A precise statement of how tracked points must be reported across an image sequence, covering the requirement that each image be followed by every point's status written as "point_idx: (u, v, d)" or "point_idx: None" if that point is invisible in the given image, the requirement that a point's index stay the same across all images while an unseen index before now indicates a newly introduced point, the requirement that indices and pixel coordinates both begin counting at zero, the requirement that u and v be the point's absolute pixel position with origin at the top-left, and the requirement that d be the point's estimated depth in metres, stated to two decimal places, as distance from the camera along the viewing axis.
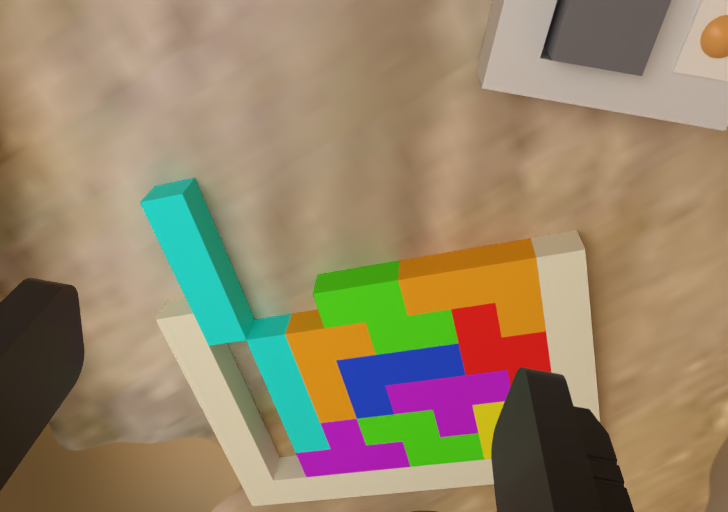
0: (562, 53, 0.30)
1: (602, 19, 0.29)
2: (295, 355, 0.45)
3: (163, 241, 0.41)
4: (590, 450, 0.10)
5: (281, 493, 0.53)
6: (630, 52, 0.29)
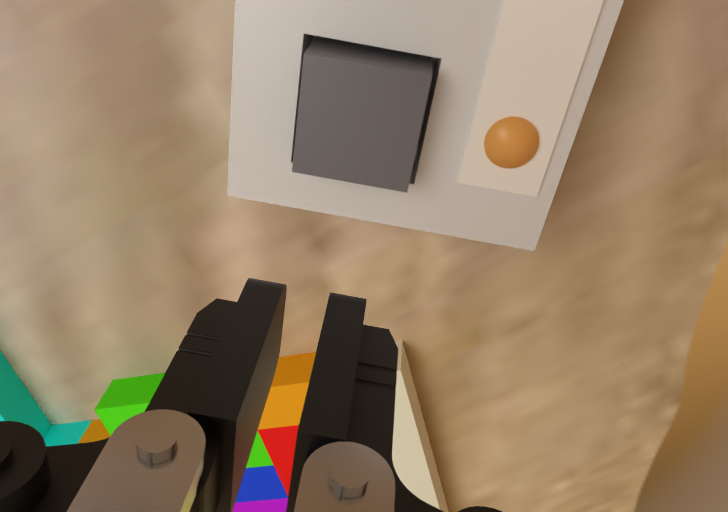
0: (302, 163, 0.23)
1: (343, 123, 0.22)
2: None
3: None
4: (374, 360, 0.10)
5: None
6: (386, 164, 0.23)
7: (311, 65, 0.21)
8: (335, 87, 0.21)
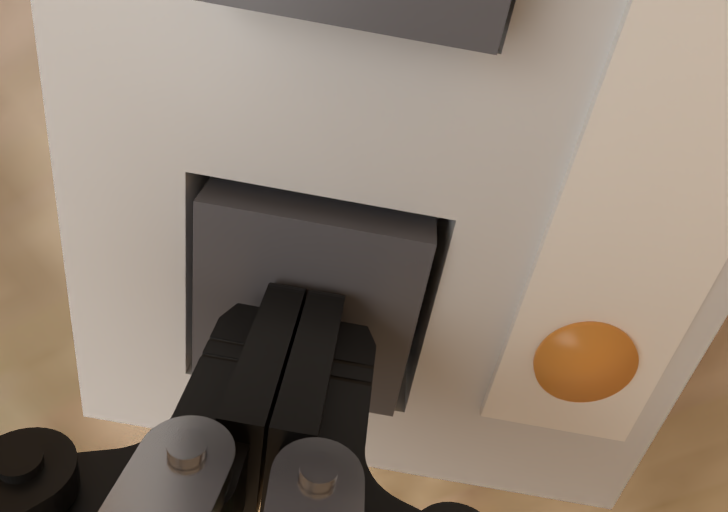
0: None
1: None
2: None
3: None
4: (352, 357, 0.10)
5: None
6: None
7: (209, 221, 0.11)
8: (257, 257, 0.11)
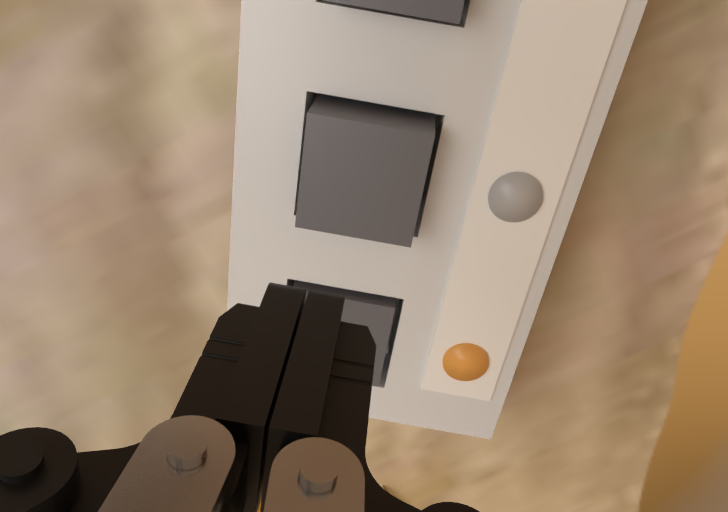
0: None
1: None
2: None
3: None
4: (351, 357, 0.10)
5: None
6: None
7: None
8: None
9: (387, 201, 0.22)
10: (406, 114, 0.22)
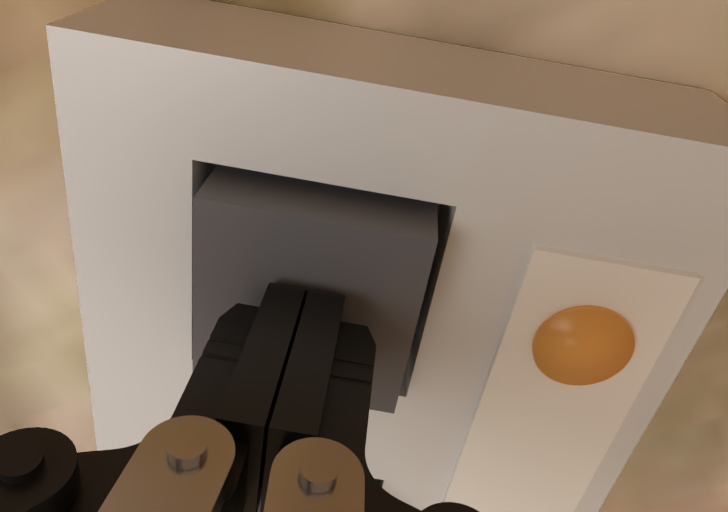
0: None
1: None
2: None
3: None
4: (352, 357, 0.10)
5: None
6: None
7: None
8: None
9: None
10: None
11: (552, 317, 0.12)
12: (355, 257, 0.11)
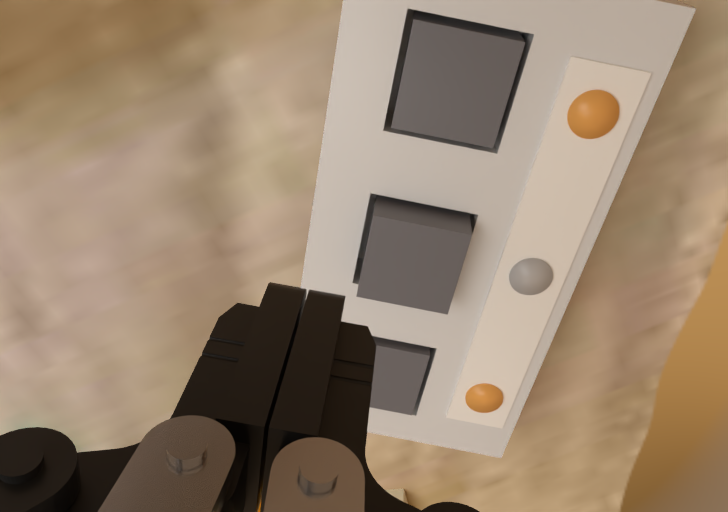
0: None
1: None
2: None
3: None
4: (352, 357, 0.10)
5: None
6: (398, 399, 0.34)
7: None
8: None
9: (431, 280, 0.28)
10: (448, 211, 0.28)
11: (578, 96, 0.25)
12: (485, 51, 0.24)
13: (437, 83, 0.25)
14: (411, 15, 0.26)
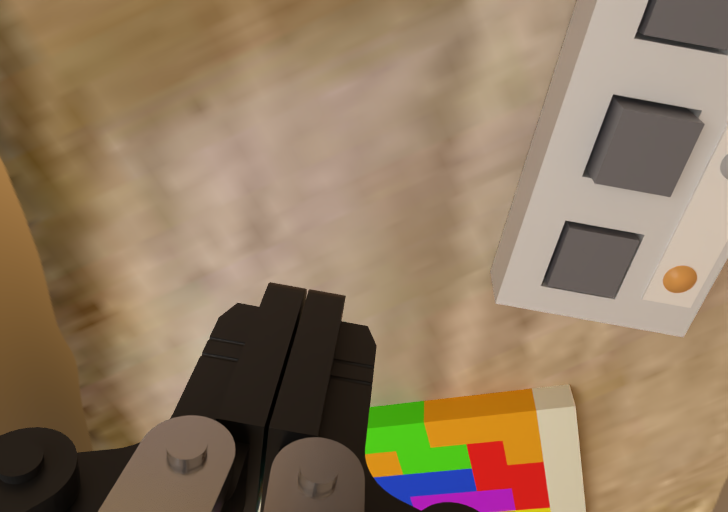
0: (554, 281, 0.40)
1: (583, 262, 0.39)
2: None
3: None
4: (352, 357, 0.10)
5: None
6: (604, 283, 0.40)
7: (572, 233, 0.38)
8: (583, 244, 0.38)
9: (662, 166, 0.34)
10: (673, 109, 0.34)
11: None
12: None
13: None
14: None
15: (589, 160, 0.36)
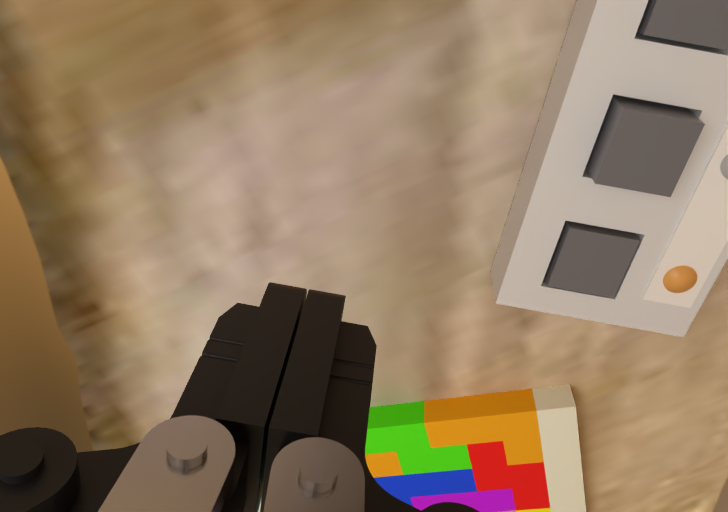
0: (554, 281, 0.40)
1: (583, 262, 0.39)
2: None
3: None
4: (351, 357, 0.10)
5: None
6: (604, 283, 0.40)
7: (572, 234, 0.38)
8: (583, 244, 0.38)
9: (662, 166, 0.34)
10: (673, 109, 0.34)
11: None
12: None
13: None
14: None
15: (589, 160, 0.36)
